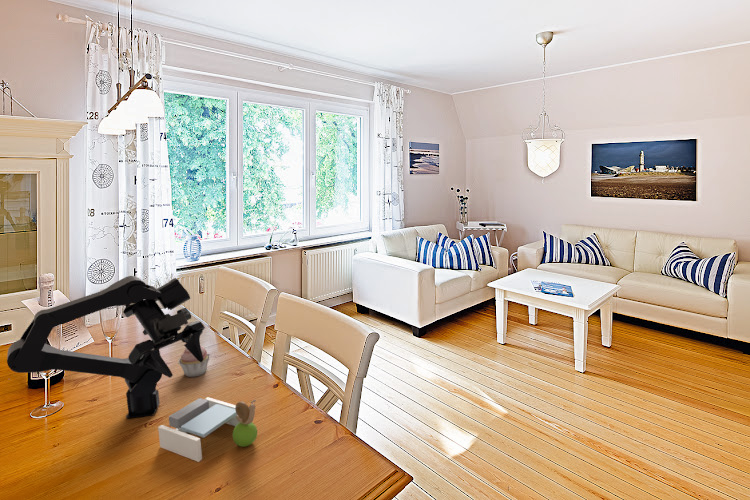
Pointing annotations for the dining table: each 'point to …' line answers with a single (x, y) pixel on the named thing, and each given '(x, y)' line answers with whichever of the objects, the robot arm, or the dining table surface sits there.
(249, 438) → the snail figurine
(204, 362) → the cupcake
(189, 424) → the trapdoor
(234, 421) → the frame
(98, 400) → the dining table surface
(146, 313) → the robot arm
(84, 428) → the dining table surface
